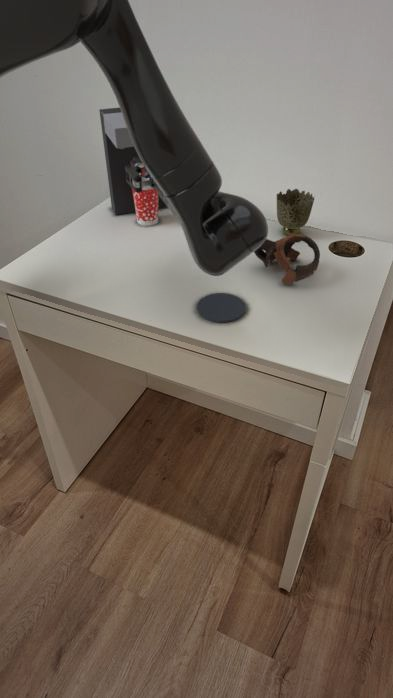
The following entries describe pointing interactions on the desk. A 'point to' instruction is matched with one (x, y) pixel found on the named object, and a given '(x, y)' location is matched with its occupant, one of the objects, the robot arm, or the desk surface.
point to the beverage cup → (146, 205)
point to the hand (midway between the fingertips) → (158, 159)
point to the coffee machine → (119, 160)
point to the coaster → (221, 307)
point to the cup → (293, 210)
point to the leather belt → (289, 256)
